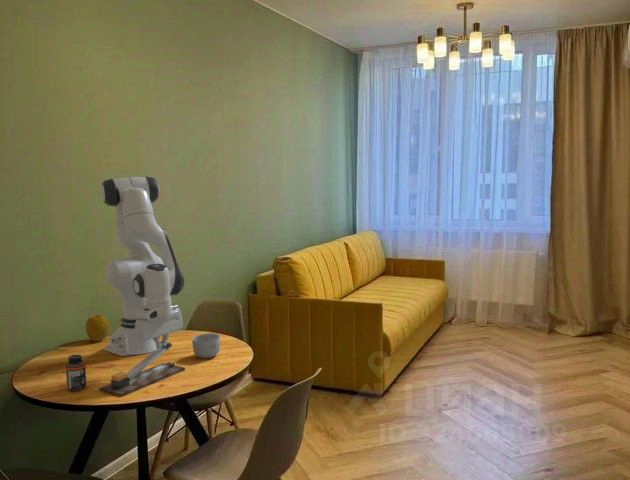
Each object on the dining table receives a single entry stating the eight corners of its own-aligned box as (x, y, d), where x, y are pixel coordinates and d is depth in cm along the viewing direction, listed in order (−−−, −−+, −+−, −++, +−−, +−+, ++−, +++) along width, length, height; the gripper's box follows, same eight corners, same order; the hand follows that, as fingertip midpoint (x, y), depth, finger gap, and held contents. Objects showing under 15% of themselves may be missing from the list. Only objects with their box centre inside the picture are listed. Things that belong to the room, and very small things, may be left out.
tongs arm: (130, 379, 185) (129, 377, 185) (124, 378, 187) (123, 375, 186) (172, 345, 202) (171, 343, 201) (166, 344, 203) (165, 342, 203)
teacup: (214, 361, 212) (213, 340, 211) (188, 359, 214) (187, 339, 214) (227, 350, 226) (226, 331, 225) (202, 349, 228) (201, 330, 227)
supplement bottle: (71, 385, 188) (69, 353, 187) (89, 385, 188) (87, 353, 187) (64, 392, 182) (62, 359, 181) (83, 391, 183) (81, 358, 181)
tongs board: (121, 396, 177) (121, 385, 177) (99, 391, 183) (98, 379, 182) (184, 369, 202) (184, 359, 202) (163, 365, 208) (162, 355, 207)
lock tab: (117, 381, 181) (117, 376, 181) (111, 379, 182) (111, 375, 182) (127, 377, 184) (126, 373, 184) (121, 376, 186) (121, 371, 185)
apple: (113, 337, 248) (112, 312, 247) (103, 343, 238) (101, 317, 237) (93, 337, 249) (91, 311, 248) (81, 343, 239) (80, 317, 238)
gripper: (173, 303, 208) (175, 339, 209) (131, 314, 190) (133, 353, 192) (186, 304, 205) (187, 340, 206) (143, 316, 187) (146, 355, 188)
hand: (161, 347), depth 199 cm, fingers closed
